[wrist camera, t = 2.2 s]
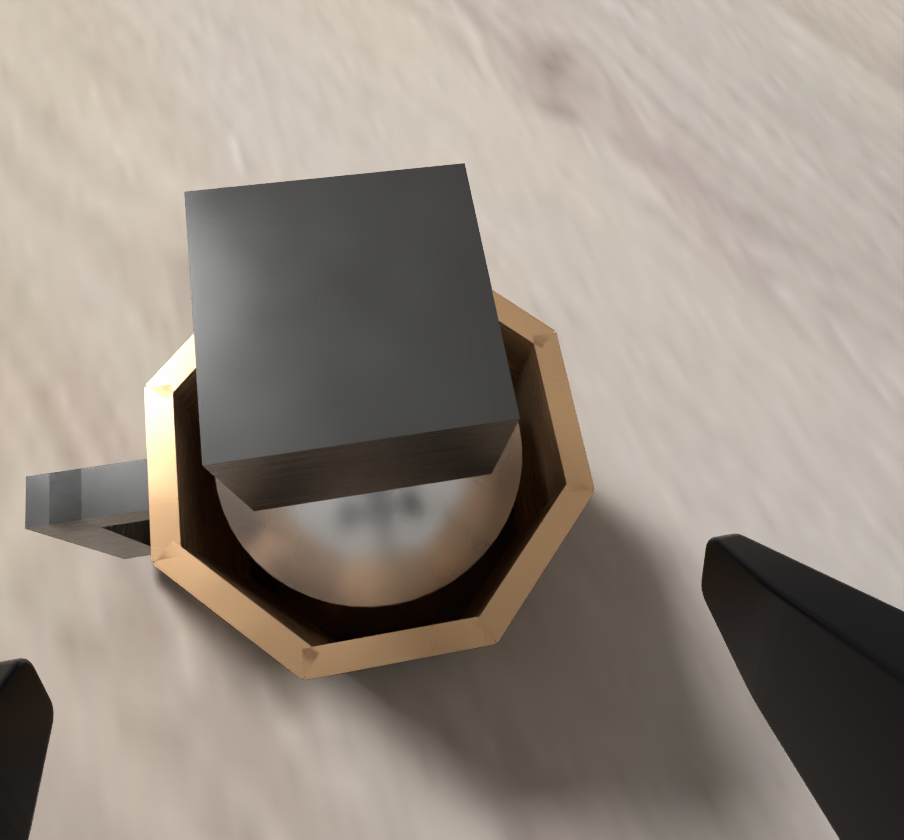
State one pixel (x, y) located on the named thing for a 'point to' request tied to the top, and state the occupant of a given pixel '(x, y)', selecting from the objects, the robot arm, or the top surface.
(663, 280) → the top surface
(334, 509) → the grey cube on disc
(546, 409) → the octagonal wooden mug
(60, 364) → the top surface
